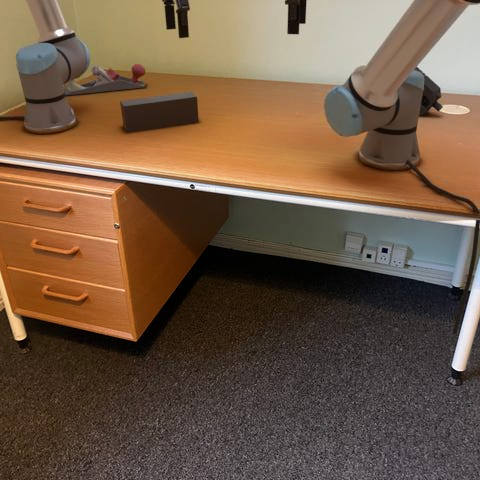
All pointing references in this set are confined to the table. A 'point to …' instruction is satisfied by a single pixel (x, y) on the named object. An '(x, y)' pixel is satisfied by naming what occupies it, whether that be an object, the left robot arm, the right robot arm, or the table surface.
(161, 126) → the bar
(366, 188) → the table surface
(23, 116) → the left robot arm
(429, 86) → the tool
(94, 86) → the hand plane
